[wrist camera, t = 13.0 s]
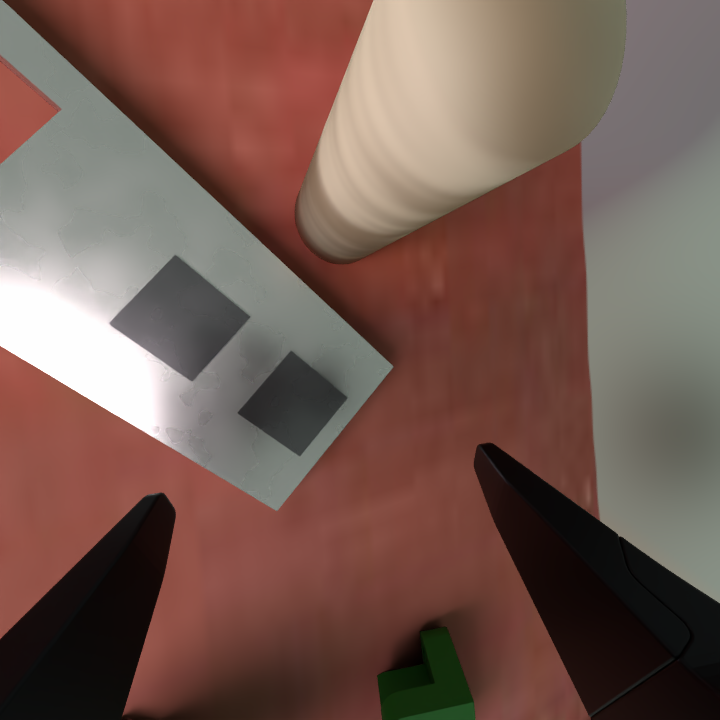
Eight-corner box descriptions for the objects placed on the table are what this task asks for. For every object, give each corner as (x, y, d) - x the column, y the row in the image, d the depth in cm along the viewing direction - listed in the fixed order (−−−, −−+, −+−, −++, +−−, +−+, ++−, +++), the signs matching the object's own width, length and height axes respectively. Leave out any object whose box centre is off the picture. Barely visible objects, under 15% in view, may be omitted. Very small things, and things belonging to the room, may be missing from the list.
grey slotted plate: (274, 491, 18) (277, 512, 17) (-373, 88, 10) (-527, 31, 8) (380, 362, 20) (394, 366, 18) (-118, -98, 11) (-196, -187, 9)
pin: (314, 275, 18) (453, 184, 6) (280, 182, 17) (363, -193, 4) (390, 250, 19) (639, 130, 7) (364, 162, 18) (608, -171, 6)
